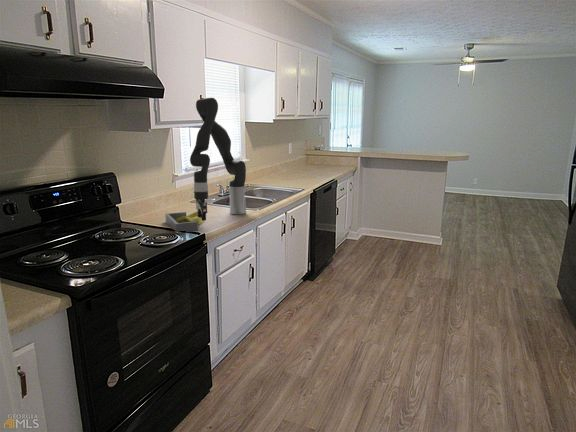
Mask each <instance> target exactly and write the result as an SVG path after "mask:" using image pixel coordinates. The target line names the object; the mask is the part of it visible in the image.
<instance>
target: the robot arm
mask: <svg viewBox="0 0 576 432" xmlns="http://www.w3.org/2000/svg"><path fill="white" fill-rule="evenodd" d="M195 109H196V111H197V113H198V115H199V116H200V119H202V122H203V123H202V125H201V126H200V128H199V130H198V132H197V134H196V141H195V145H194V148H193V151H192V152H191V155H190V158H189V163H190V165H191V166H193V167H197V168H198V167H199V168H200V167H201V169H200V170H197V171H196V170H195V171H194V173H193V197H194V199H195V201H196V202H195V205H196V206H195V207H196V212H197V211H198V217H199V218H201V217H202V221H204V222H205V221H207V214H208V203H207V202H206V201H205V200H208V199H209V186H208V172H209V168H210V163H211V159H210V155H208V154H207V153H202V152H206V151H208V150H209V146H210V140H211V138H212V140H213V142H214V145H215V146H216V148H217V150H218V153H219V154H220V156H221V158H222V161H223V163H224V167H225V169H226V172H227V173H228V174H230V175H231V176H234V179H233V180H230V181H229V214H232V215H243V214H247V199H246V197H245V195H246V194H245V183H246V178H247V177H246V176H247V175H246V174H247V173H246V172H247V167H246V163H245V162H244V161H243V160H236V159H234V157H233V155H232V152H231V149H232V147H231V146H232V141H231V138H230V136H229V134H228V132H227V130H226V129H225V128H224V127H223V126H222V125H221V124H220V123H218V122H217V121H216V117H217V114H218V110H219V102H218V100H217V99H216V98H215V97H206V98H205V97H204V98H200V99H198V100H197V101H196V102H195Z"/></svg>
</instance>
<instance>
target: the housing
mask: <svg viewBox="0 0 576 432" xmlns="http://www.w3.org/2000/svg"><path fill="white" fill-rule="evenodd" d="M164 215H165V223H166V224H167V226H169V228H170V229H171V230H172V229H173V230H175V231H176V232H179V231H186V232H185V233H192V232H198V231H199V225H198V222H197V221H196V222H186V223H177V222H176V221H175V219H177V218H180V217H182V216H187V212H186V211H183V212H181V211H180V212H170V213H167V212H166V213H165V214H164ZM173 230H172V231H173Z"/></svg>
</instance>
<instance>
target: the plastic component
mask: <svg viewBox="0 0 576 432" xmlns="http://www.w3.org/2000/svg"><path fill="white" fill-rule="evenodd" d="M175 221H176V222H177V223H186V222H196V221H197V222H198V226H199V225H201V224H203V223H205V221H202V217H201V218H199V217H198V211H197V210H196V211H195V212H193V213H191V214H189V215H186V216H182V217H180V218H177V219H175Z"/></svg>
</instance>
